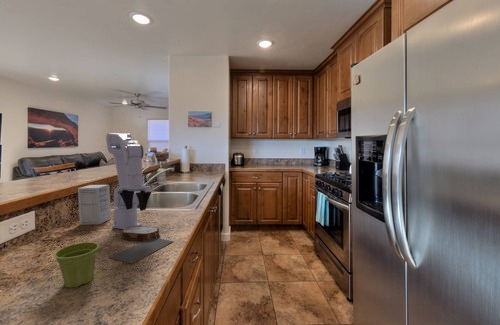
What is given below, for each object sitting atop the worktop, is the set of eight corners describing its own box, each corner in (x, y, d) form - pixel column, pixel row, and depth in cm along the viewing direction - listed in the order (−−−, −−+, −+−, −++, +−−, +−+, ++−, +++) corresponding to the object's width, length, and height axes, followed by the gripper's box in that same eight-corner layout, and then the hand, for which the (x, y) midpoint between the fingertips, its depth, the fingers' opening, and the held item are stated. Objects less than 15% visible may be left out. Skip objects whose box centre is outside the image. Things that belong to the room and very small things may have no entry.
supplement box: (111, 218, 117) (110, 184, 116) (100, 224, 108) (98, 187, 107) (91, 218, 117) (90, 184, 116) (78, 224, 108) (77, 187, 107)
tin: (150, 241, 88) (163, 235, 96) (150, 232, 88) (163, 227, 96) (115, 238, 91) (131, 232, 100) (115, 230, 91) (131, 225, 100)
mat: (108, 258, 76) (108, 257, 76) (152, 238, 92) (152, 237, 92) (131, 264, 72) (131, 263, 72) (173, 242, 88) (173, 241, 88)
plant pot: (87, 291, 58) (85, 256, 58) (46, 293, 58) (44, 258, 57) (107, 271, 68) (105, 241, 67) (72, 272, 67) (70, 242, 66)
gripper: (156, 174, 95) (157, 208, 95) (130, 174, 101) (132, 206, 101) (141, 175, 88) (142, 212, 88) (114, 175, 94) (116, 210, 95)
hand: (136, 209), depth 94 cm, fingers open, 7 cm apart
